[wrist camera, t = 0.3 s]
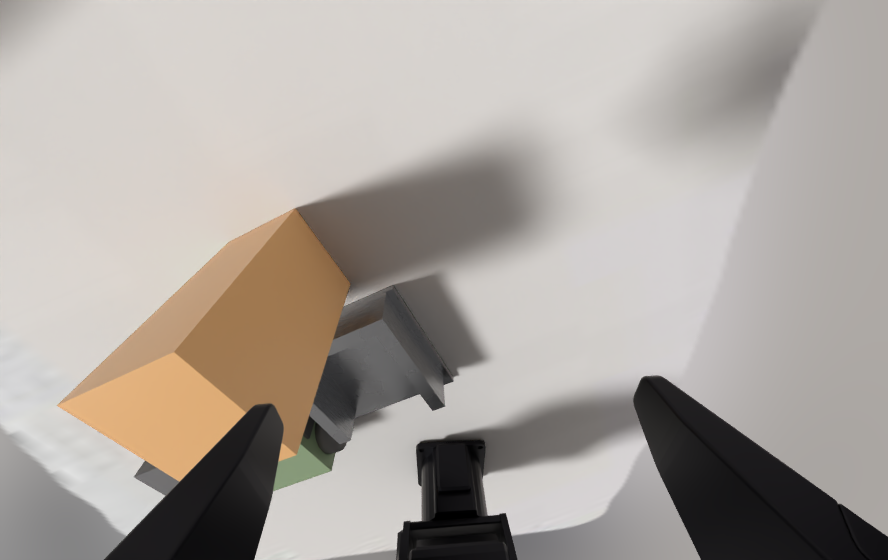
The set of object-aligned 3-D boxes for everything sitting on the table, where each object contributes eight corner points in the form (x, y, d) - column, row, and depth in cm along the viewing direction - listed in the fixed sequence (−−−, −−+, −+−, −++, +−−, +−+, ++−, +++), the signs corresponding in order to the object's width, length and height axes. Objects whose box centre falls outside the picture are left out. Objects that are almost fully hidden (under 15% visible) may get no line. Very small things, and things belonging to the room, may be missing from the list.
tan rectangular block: (350, 283, 25) (296, 454, 14) (289, 311, 26) (195, 491, 15) (295, 208, 22) (174, 351, 11) (228, 242, 23) (56, 405, 12)
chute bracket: (453, 376, 30) (456, 412, 27) (348, 415, 32) (341, 453, 29) (393, 285, 25) (389, 315, 22) (273, 337, 27) (255, 372, 24)
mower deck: (350, 424, 32) (334, 508, 26) (260, 458, 34) (226, 543, 28) (257, 329, 26) (208, 409, 20) (153, 376, 28) (81, 462, 22)
